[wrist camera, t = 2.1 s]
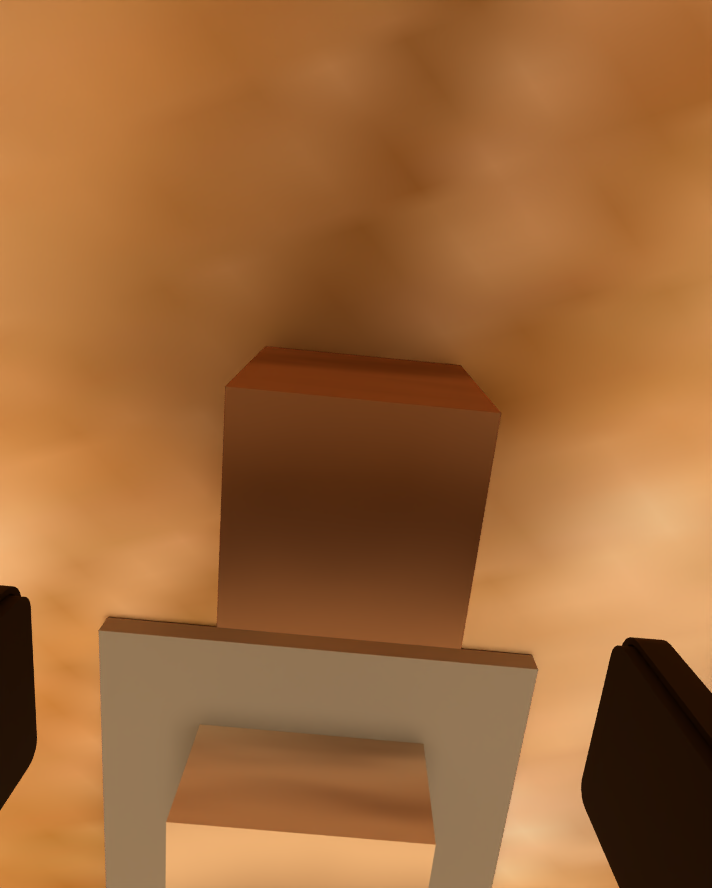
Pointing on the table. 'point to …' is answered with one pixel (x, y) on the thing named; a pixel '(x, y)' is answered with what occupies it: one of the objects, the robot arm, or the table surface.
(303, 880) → the birch base brick
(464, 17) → the table surface
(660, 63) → the table surface
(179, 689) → the grey flat square
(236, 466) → the walnut cube
